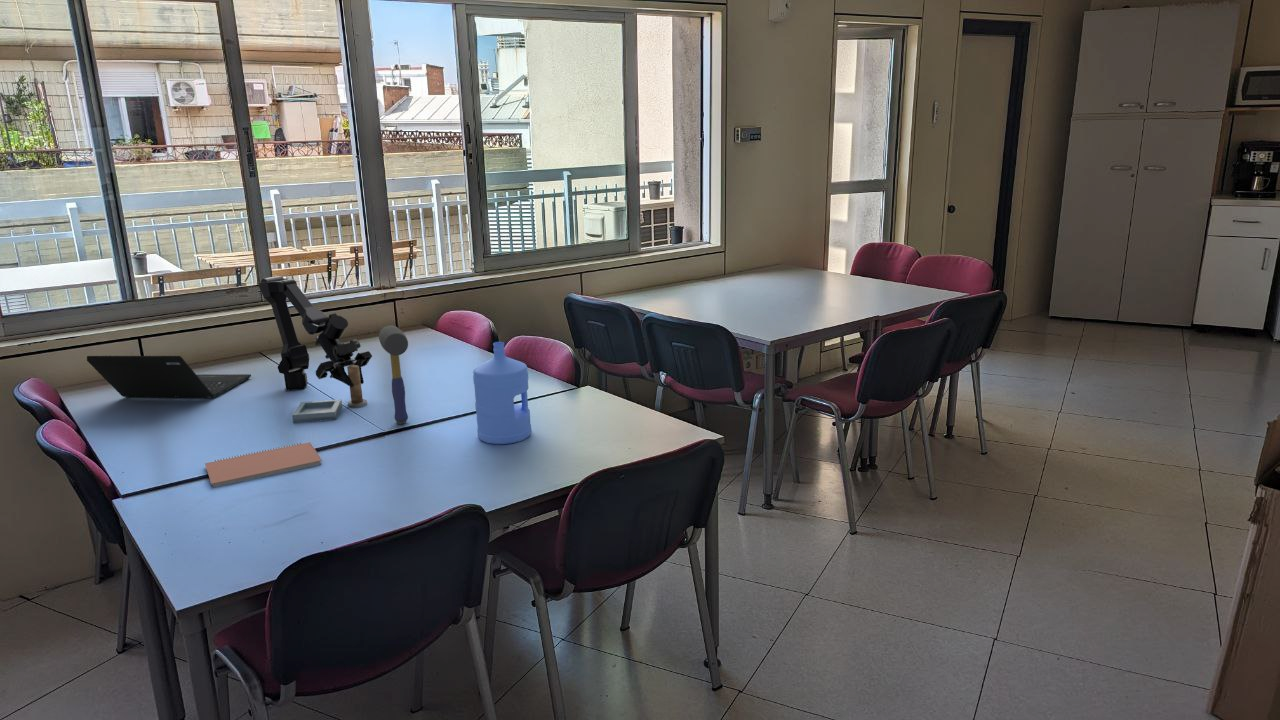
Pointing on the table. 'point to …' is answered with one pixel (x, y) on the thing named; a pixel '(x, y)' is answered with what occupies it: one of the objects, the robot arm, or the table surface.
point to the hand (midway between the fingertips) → (357, 384)
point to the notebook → (262, 464)
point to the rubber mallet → (396, 367)
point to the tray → (317, 410)
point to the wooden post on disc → (355, 388)
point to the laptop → (160, 377)
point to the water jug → (501, 399)
